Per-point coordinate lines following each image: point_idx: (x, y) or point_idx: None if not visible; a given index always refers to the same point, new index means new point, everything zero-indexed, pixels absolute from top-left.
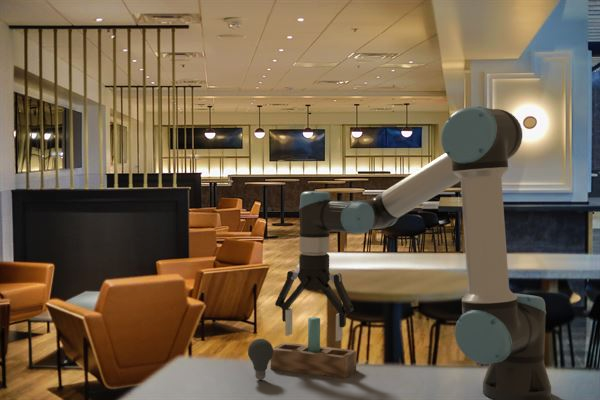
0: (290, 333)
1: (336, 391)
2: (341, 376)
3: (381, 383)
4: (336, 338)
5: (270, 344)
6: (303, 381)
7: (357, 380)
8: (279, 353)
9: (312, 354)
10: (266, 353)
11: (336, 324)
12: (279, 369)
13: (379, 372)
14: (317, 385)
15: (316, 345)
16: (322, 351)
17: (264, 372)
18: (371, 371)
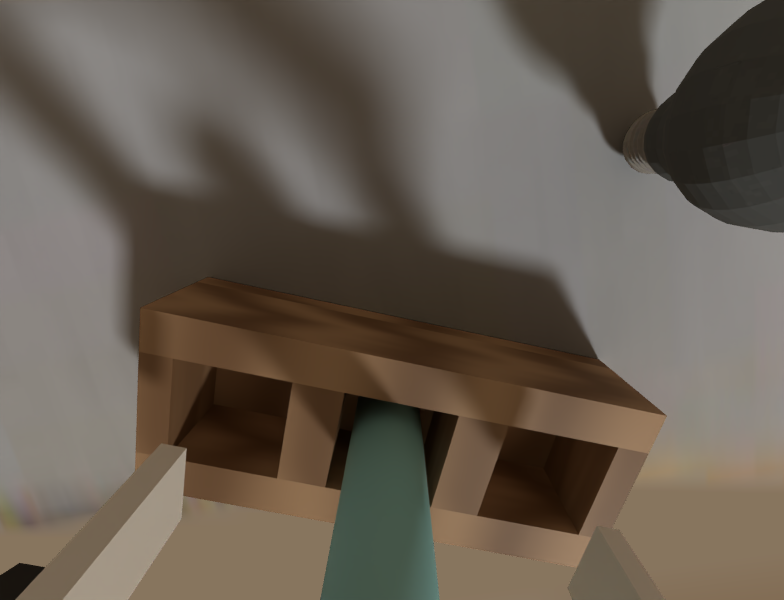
0: (583, 569)
1: (185, 10)
2: (225, 283)
3: (11, 225)
4: (167, 460)
5: (782, 98)
6: (402, 174)
7: (140, 253)
8: (595, 392)
9: (376, 355)
10: (761, 5)
11: (63, 586)
12: (554, 350)
13: (85, 402)
14: (314, 112)
15: (361, 449)
16: (326, 428)
17: (645, 129)
18: (124, 411)
